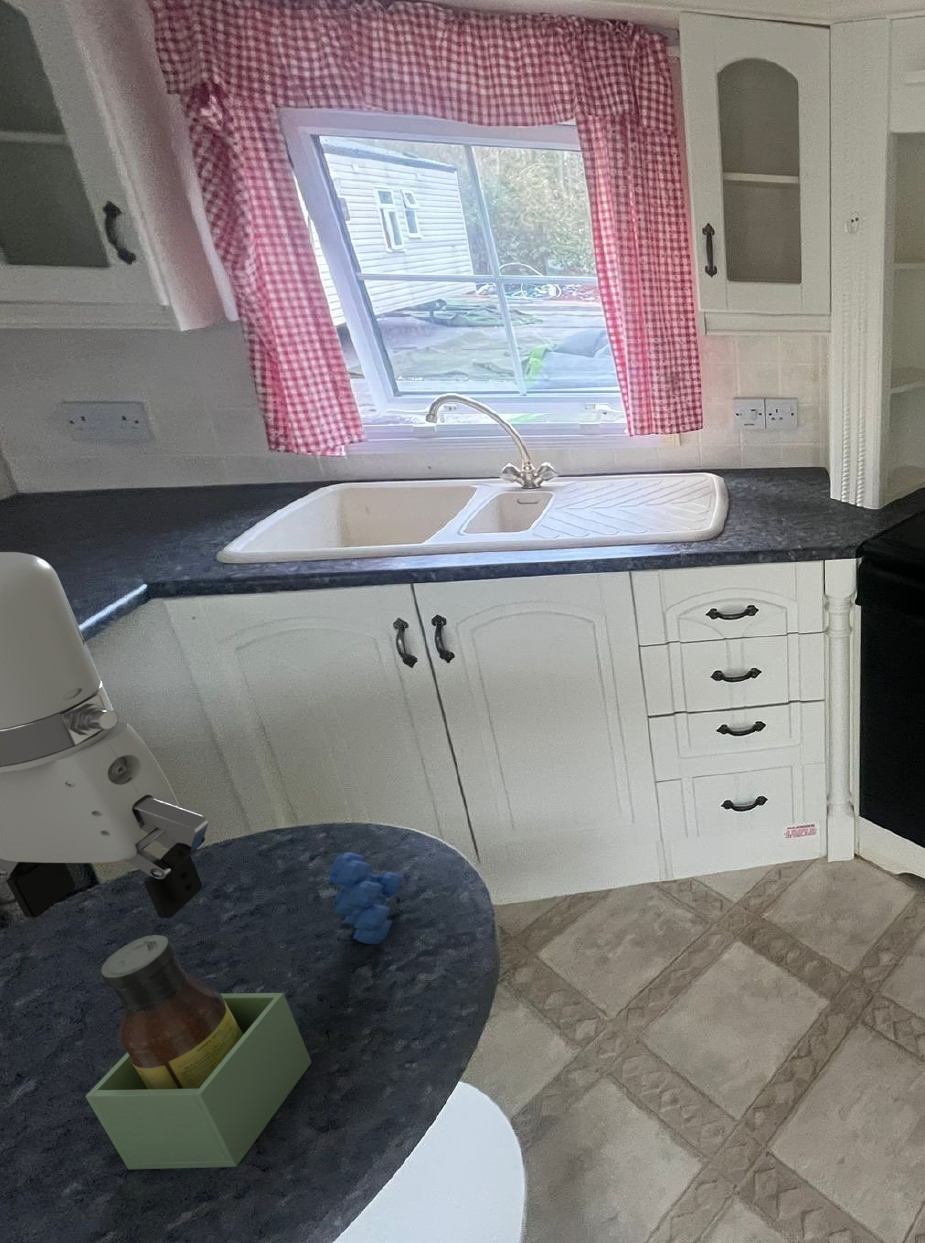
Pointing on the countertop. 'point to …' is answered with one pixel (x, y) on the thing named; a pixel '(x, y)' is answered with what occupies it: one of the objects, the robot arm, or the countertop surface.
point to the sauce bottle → (168, 1016)
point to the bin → (207, 1095)
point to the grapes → (363, 896)
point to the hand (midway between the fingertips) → (117, 903)
